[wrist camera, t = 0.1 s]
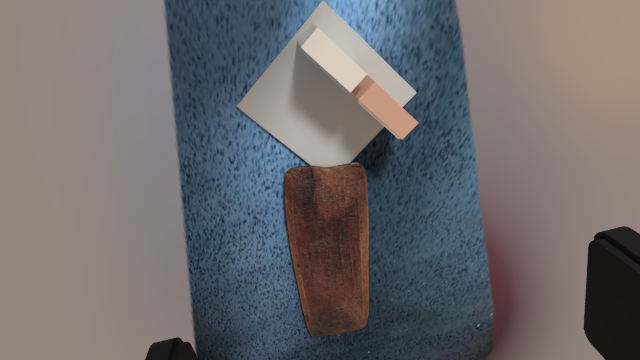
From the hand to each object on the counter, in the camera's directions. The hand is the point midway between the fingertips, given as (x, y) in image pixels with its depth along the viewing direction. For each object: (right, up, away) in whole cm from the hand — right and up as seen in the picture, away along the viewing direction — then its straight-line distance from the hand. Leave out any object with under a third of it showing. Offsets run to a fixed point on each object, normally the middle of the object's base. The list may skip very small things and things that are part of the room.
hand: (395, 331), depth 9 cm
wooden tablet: (-1, -6, +44) cm, 44 cm away
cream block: (-1, +17, +33) cm, 37 cm away
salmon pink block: (+4, +13, +35) cm, 38 cm away
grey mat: (-1, +13, +35) cm, 37 cm away
